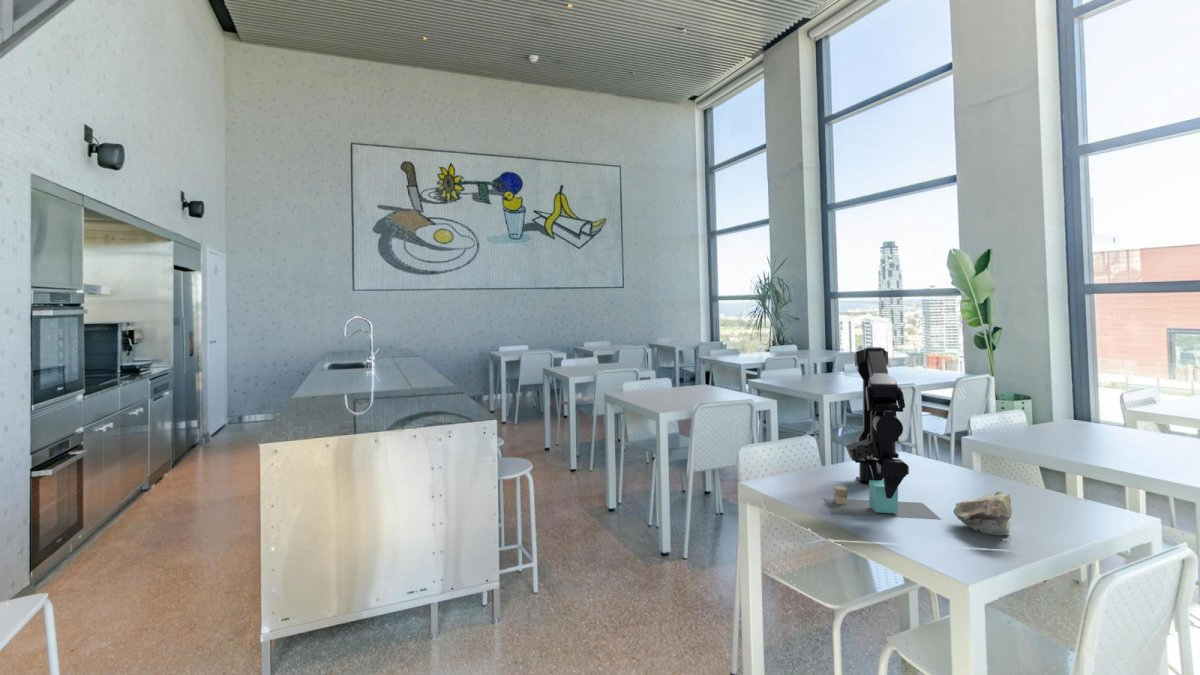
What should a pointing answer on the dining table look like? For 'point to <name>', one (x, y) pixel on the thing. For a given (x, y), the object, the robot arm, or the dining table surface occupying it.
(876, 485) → the teal rectangular block
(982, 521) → the stone
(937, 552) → the dining table surface
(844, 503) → the tan block
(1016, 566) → the dining table surface
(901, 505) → the mat
